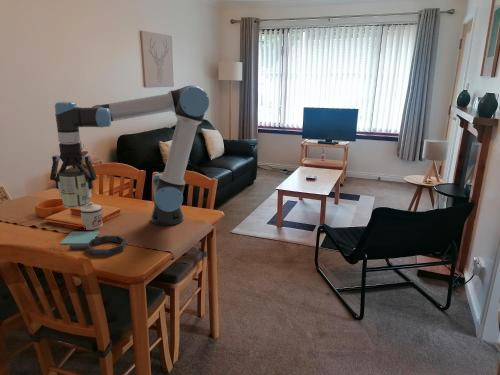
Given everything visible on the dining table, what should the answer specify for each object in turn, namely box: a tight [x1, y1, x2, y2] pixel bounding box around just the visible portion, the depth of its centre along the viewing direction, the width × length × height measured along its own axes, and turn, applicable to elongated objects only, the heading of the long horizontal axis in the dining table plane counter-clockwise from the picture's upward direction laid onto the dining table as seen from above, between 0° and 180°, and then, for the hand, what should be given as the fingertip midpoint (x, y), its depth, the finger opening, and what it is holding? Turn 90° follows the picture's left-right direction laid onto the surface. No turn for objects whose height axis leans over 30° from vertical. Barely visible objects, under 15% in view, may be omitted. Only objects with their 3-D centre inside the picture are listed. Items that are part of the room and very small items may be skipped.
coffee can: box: [57, 167, 91, 209], centre depth 145 cm, size 10×10×14 cm
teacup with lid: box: [79, 201, 104, 231], centre depth 164 cm, size 12×9×12 cm
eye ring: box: [68, 235, 127, 257], centre depth 142 cm, size 21×14×2 cm, turn 94°
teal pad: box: [59, 231, 101, 245], centre depth 152 cm, size 12×12×1 cm
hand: (75, 196), depth 147 cm, fingers closed on coffee can, 10 cm apart
